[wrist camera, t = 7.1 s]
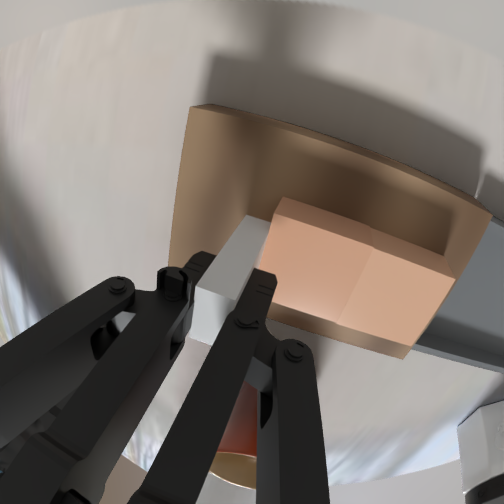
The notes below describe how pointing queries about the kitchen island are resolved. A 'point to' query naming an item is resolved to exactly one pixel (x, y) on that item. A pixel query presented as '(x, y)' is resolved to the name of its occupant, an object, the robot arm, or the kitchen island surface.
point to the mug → (239, 442)
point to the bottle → (224, 492)
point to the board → (311, 198)
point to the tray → (473, 309)
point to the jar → (483, 455)
